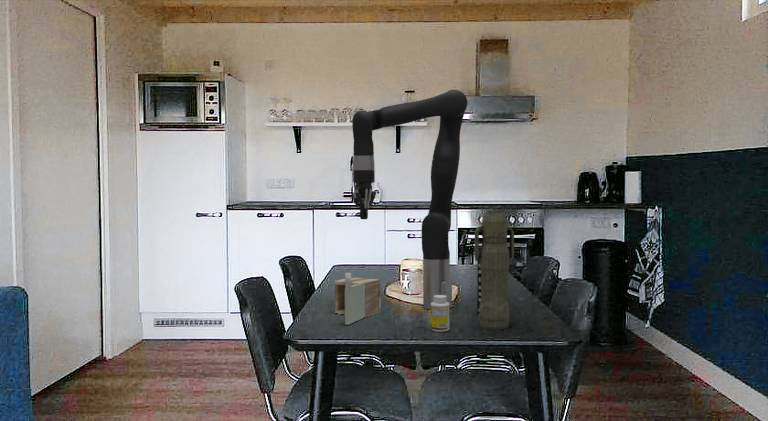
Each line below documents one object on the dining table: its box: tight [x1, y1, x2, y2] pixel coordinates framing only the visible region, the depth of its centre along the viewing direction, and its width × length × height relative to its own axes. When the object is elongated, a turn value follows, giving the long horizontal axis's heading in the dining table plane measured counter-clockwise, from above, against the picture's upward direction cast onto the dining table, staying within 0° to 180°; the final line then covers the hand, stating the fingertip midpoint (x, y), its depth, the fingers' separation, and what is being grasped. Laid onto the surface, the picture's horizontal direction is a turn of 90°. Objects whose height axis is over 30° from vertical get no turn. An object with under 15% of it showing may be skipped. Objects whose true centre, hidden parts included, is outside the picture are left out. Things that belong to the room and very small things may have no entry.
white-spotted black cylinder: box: [476, 253, 481, 318], centre depth 216 cm, size 8×8×20 cm
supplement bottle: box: [430, 295, 451, 333], centre depth 196 cm, size 6×6×10 cm
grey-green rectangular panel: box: [344, 272, 366, 326], centre depth 208 cm, size 12×2×16 cm, turn 156°
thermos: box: [474, 210, 515, 330], centre depth 200 cm, size 9×12×35 cm
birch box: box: [333, 276, 382, 318], centre depth 221 cm, size 12×10×11 cm
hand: (364, 219), depth 229 cm, fingers closed
